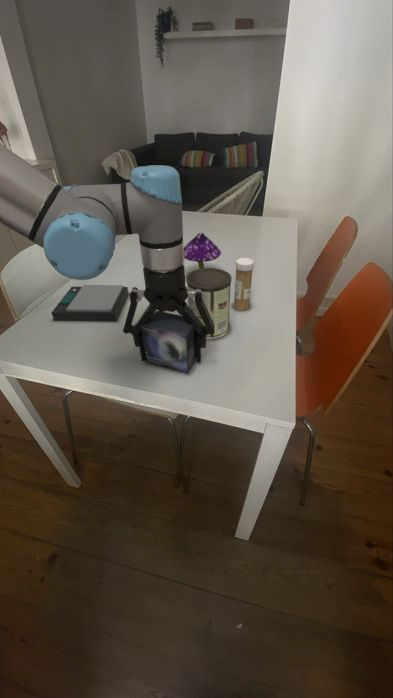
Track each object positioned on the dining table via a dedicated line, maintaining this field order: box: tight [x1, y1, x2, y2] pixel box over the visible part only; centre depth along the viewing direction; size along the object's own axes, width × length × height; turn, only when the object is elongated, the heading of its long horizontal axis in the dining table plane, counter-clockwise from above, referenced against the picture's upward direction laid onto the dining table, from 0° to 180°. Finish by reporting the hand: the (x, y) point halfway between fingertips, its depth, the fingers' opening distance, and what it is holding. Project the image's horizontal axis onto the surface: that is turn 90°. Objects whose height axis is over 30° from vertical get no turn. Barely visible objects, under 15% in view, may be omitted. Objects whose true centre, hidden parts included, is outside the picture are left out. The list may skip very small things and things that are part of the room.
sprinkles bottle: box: [233, 257, 255, 311], centre depth 85 cm, size 5×5×14 cm
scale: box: [50, 284, 130, 322], centre depth 89 cm, size 17×15×3 cm
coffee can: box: [185, 267, 232, 340], centre depth 77 cm, size 10×10×14 cm
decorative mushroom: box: [183, 232, 222, 269], centre depth 98 cm, size 12×12×15 cm
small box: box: [140, 310, 197, 374], centre depth 68 cm, size 11×6×10 cm, turn 68°
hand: (171, 357), depth 71 cm, fingers closed on small box, 11 cm apart
